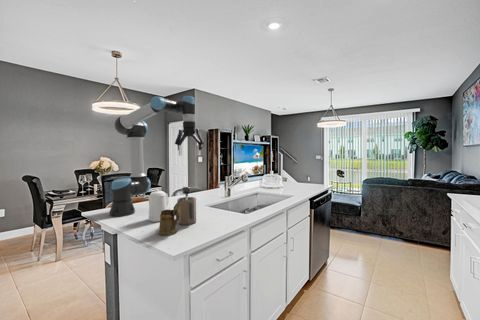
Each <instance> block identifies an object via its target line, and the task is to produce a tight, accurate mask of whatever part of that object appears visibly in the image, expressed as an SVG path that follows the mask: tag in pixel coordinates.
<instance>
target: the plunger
mask: <svg viewBox="0 0 480 320" xmlns="http://www.w3.org/2000/svg"><path fill="white" fill-rule="evenodd" d="M190 193H191V186H182V194H184V197H185V198H186V200H188V197H189V194H190Z"/></svg>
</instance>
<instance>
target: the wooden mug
mask: <svg viewBox="0 0 480 320" xmlns="http://www.w3.org/2000/svg"><path fill="white" fill-rule="evenodd" d="M182 203H183V199H181V200H180V201H178V202H176V203H175V204H174V206H173V209H167V210H163V211H161V214H160V222H159V227H158V233H157V234H158V236H161V237H163V236H164V237H167V236H172V235H175V234H177V232H178V227H177V224H178V220H179V212H178V208H179V207H180V206H181V205H182Z"/></svg>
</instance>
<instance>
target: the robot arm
mask: <svg viewBox="0 0 480 320" xmlns="http://www.w3.org/2000/svg"><path fill="white" fill-rule="evenodd" d="M195 102H196V101H195V98H194V96H191V95H184V96H182V99H181V100H177V101H176V100H172V99H170V98H166V97H163V96H158V95H156V96H153V97H152V98H151V99H150V102H149V103H147V104H144V105H143V106H141V107H139V108H137V109H135V110H133V111H131V112H130V113H127V114H122V115H120V116H119V117H117V118H116V119H115V121H114V128H115V130H116V132H117V133H118V134H120V135H123V136H126V139H128V141H129V153H130V173H131V174H130V175H129V176H128V177H120V178H118V179H117V178H116V179H114V180H113V181H112V182H111V188H110V189H111V206H110V209H109V217H115V218H116V217H117V218H118V217H124V216H125V217H127V216H130V215H133V214H135V212H136V209H135V207H134V204H133V201H132V199H133V197H134V196H137V195H138V196H139V195H143V194H146V193H148V192H149V191H150V189H151V186H152V185H151V180H150V178H149V177H147V176H148V175H147V174H146V173H145V161H144V142H143V141H144V140H145V138H146V135H147V134H148V133H149V127H148V124H147V123H146V122H145V120H147V119H149V118H151V117H154V116H155V115H158V114H159V113H161V112H167V113H168V114H171V115H175V114H182V121H183V122H182V128H183V129H179V130H178V134H177V137H176V139H175V142H174V144H175V145H177V151H178V156H183V145H182V144H183V143H184V141H185V140H186V138H187V137H192V138H193V139H194V140H195V142H196V143H197V145H196V146H197V148H196V150H197V153H196V155H197V156H201V151H202V149H203V147H202V145H203V144H205V140H204V139H203V136H202V134H201V129H199V128H196V122H195V121H196V114H195V113H196V111H195V110H196V108H195V107H196V104H195Z"/></svg>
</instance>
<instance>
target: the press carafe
mask: <svg viewBox="0 0 480 320" xmlns="http://www.w3.org/2000/svg"><path fill="white" fill-rule="evenodd" d="M181 199H183V203H182V205H181V206H180V207H179V208H178V212H179V220H178V222H177V224H178V225H180V226H191V225H195V224H196V223H197V198H196V197H194V196H188V200H186V198H185V196H184V197H179V198H178V199H177V200H176V201H177V202H178V201H180V200H181ZM177 202H176V203H177Z"/></svg>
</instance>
